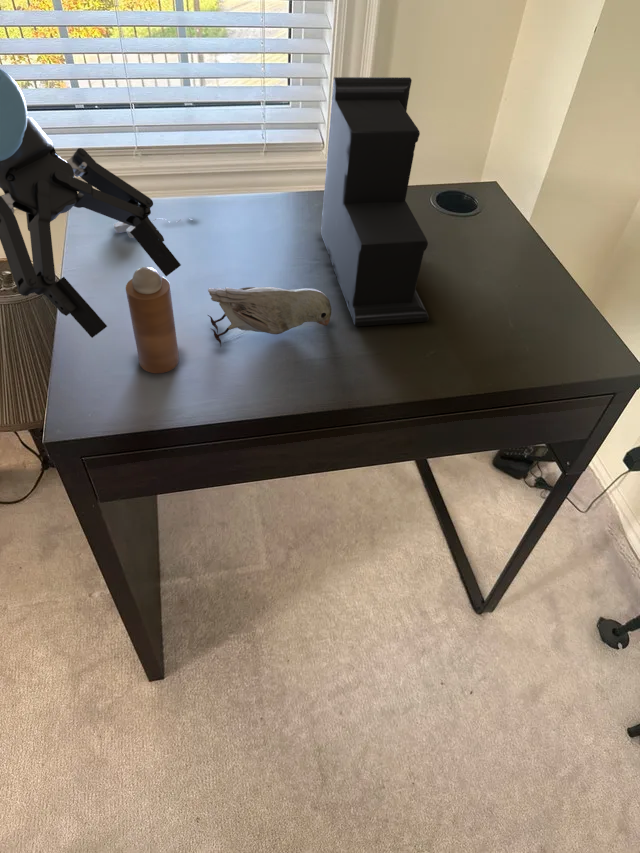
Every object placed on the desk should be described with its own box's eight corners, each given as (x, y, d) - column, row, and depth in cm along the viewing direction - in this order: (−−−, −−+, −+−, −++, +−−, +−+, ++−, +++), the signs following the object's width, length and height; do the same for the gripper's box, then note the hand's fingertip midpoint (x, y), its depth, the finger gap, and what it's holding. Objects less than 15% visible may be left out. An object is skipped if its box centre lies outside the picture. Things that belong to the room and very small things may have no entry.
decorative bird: (334, 338, 85) (339, 290, 79) (212, 352, 81) (209, 303, 76) (324, 313, 88) (328, 266, 83) (206, 326, 84) (203, 277, 79)
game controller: (108, 226, 99) (105, 210, 97) (174, 207, 105) (173, 192, 103) (126, 243, 96) (123, 227, 94) (192, 222, 102) (191, 207, 100)
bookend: (429, 322, 88) (470, 153, 71) (353, 328, 86) (376, 156, 69) (384, 232, 103) (409, 75, 86) (319, 235, 102) (331, 75, 84)
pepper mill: (131, 364, 79) (112, 273, 69) (155, 343, 82) (140, 252, 72) (163, 378, 77) (149, 287, 68) (186, 356, 80) (176, 265, 71)
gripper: (-95, 163, 56) (78, 351, 63) (95, 77, 72) (216, 236, 79) (-112, 202, 61) (49, 372, 69) (68, 115, 77) (184, 260, 84)
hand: (139, 300), depth 74 cm, fingers open, 13 cm apart
